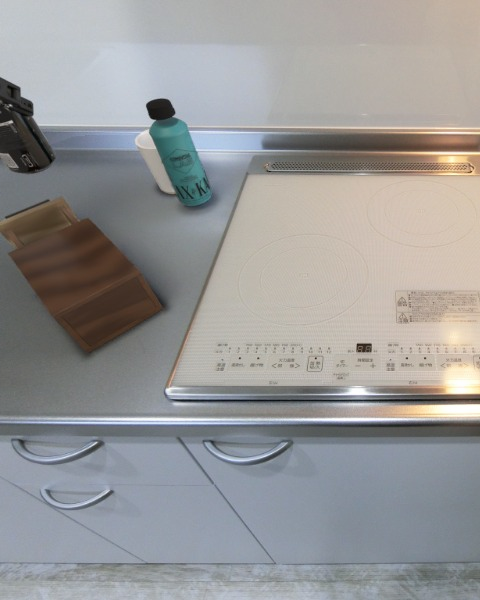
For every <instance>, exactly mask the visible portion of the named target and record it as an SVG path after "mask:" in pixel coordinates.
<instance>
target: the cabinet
mask: <svg viewBox="0 0 480 600" xmlns="http://www.w3.org/2000/svg"><path fill="white" fill-rule="evenodd" d="M7 255H8V256H9V258H10V259H11V261H12V262H13V264H14V265H15V267H16V268H17V269H18V271H19V272H20V273H21V275H22V276H23V278H24V279H25V280H26V282H27V283H28V284H29V286H30V287H31V289H32V291H33V292H34V293H35V294H36V296H37V297H38V299H39V301H40V302H41V303H42V304H43V306H44V307H45V309H46V310H47V311H48V313H49V314H50V316H51V318H53V319H54V321H55V322H57V323H58V325H60V327H62V329H63V330H64V331H65V332H66V333H67V334H68V335H69V336H70V337H71V338H72V339H73V340H74V341H75V342H76V343H77V344H78V346H79V347H80V348H82V350H84V352H85V353H86V354H90V353H92V352H93V351H95V350H96V349H98V348H100V347H101V346H103V345H105V344H107V343H108V342H110V341H112V340H113V339H115V338H116V337H118V336H120V335H122V334H124V333H125V332H127V331H128V330H130V329H132V328H134V327H135V326H137V325H138V324H140V323H142V322H144V321H145V320H147V319H148V318H150V317H152V316H153V315H155V314H157V313H159V312H160V311H162V310H164V307H163V305H162V304H161V303H160V301H159V299H158V298H157V296H156V294H155V293H154V292H153V290H152V288H151V287H150V285H149V283H148V281H146V279H145V277H144V276H143V274H142V272H141V271H140V269H138V267H137V266H136V265H135V264H134V263H133V262H132V261H131V260H130V259H129V258H128V257H127V256H126V255H125V254H124V253H123V252H122V250H121V249H120V248H119V247H118V246H117V245H116V244H114V242H113V241H112V240H111V239H110V238H109V237H108V236H107V235H106V234H105V233H104V232H103V231H102V230H101V228H100V227H98V226H97V224H96V223H94V222H93V221H92V219H91V218H89V217H86V218H84V219H81V220H79V222H77V223H74V224H72V225H70V226H68V227H66V228H63V229H61V230H59V231H57V232H54V233H52V234H50V235H48V236H45V237H43V238H41V239H39V240H36V241H34V242H32V243H30V244H28V245H25V246H23V247H21V248H19V249H16V250H15V249H14V250H12V251H10V252H7Z"/></svg>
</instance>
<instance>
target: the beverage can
mask: <svg viewBox="0 0 480 600" xmlns="http://www.w3.org/2000/svg"><path fill="white" fill-rule="evenodd" d="M56 159H57V153H56V151H55V149H54V148H53V147H52V145H51V143H50V142H49V140H48V138H47V137H46V135H45V134H44V133H43V131H42V129H41V127H40V126H39V124H38V123H37V121H36V120H35V118H34V116H25V115H23V114H20V113H18V112H15V111H13V110H10V109H8V108H5V107H2V106H0V160H1V162H2V163H3V164H4V166H5V167H6V168H7V169H8V170H9V171H10V172H13V173H16V174H22V175H35V174H38V173H42V172H44V171H45V170H48V169H49V168H50V167H51V166H52V165H53V164H54V163H55V161H56Z"/></svg>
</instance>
